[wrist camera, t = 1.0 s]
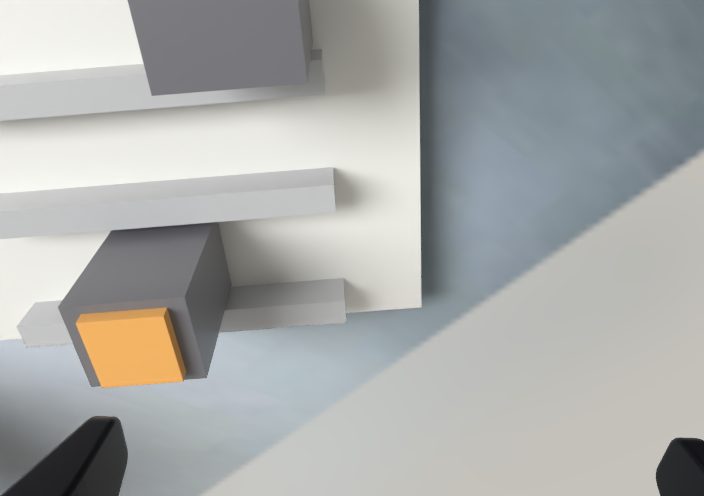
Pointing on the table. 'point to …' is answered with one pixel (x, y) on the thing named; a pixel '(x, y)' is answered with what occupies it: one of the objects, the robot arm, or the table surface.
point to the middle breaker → (222, 43)
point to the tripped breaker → (149, 305)
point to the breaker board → (211, 165)
